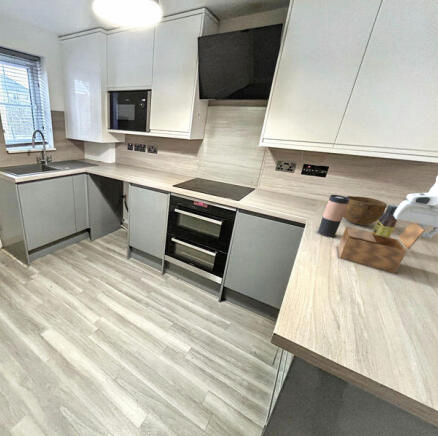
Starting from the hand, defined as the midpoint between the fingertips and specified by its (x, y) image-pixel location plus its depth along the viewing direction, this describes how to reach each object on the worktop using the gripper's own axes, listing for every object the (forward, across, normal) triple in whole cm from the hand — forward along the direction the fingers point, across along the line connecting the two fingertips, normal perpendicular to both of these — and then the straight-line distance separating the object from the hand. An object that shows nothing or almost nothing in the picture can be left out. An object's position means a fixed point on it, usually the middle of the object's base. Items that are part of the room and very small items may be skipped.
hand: (424, 237), depth 86 cm
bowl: (+15, +11, -55) cm, 58 cm away
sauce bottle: (+15, +6, -24) cm, 29 cm away
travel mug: (+15, +26, -21) cm, 36 cm away
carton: (+14, +13, 0) cm, 19 cm away
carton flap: (0, +4, 0) cm, 4 cm away
